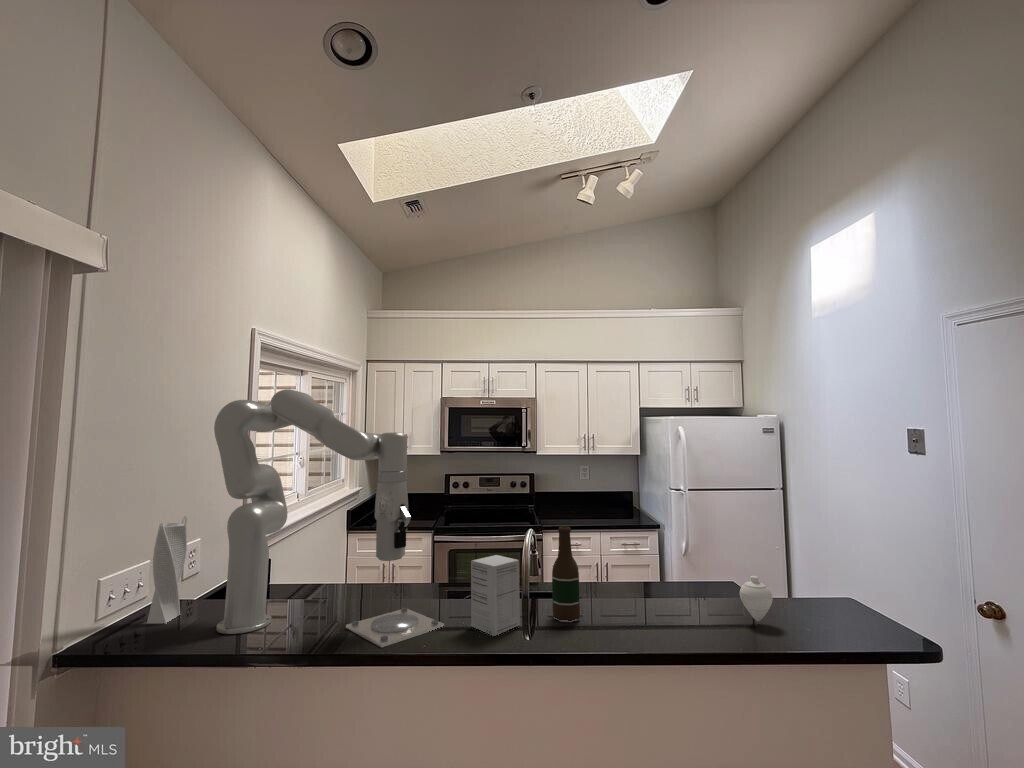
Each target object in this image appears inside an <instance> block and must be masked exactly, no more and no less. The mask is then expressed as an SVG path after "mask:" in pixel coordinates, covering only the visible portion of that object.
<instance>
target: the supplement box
mask: <svg viewBox="0 0 1024 768" xmlns="http://www.w3.org/2000/svg"><path fill="white" fill-rule="evenodd" d="M470 575H471V576H470V579H471V580H470V590H471V591H470V594H471V595H470V596H471V597H470V598H471V599H470V601H471V602H470V603H471V606H470V609H471V611H470V612H471V613H470V614H471V615H470V617H471V620H470V621H471V623H470V624H471V625H470V627H471V626H472V627H474V628H476V629H479V630H481V631H483V632H486V633H488V634H490V635H489V636H491V635H492V636H491V637H493V636H496V635H498V636H500V635H499V634H501V633H502V632H505V631H507V630H509V629H512V628H514V627H516V626H518V625H520V626H521V611H520V609H521V606H520V605H521V603H520V601H521V600H520V599H521V597H520V560H519V559H516V558H511V557H506V556H504V555H498V554H495V555H490V556H485V557H481V558H477V559H473V560H471V561H470ZM476 629H475V630H476ZM481 631H480V632H481ZM483 632H482V633H483ZM486 633H485V634H486ZM488 634H487V635H488ZM501 635H502V634H501ZM496 637H497V636H496Z"/></svg>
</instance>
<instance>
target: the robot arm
mask: <svg viewBox="0 0 1024 768" xmlns="http://www.w3.org/2000/svg"><path fill="white" fill-rule="evenodd" d="M213 425H214V426H213V429H214V430H213V431H214V437H215V441H216V444H217V448H218V451H219V456H220V461H221V462H220V463H221V467H222V473H223V477H224V478H223V479H224V482H225V483H224V484H225V486H226V491H227V493H228V495H229V496H230V497H231V498H233V499H235V500H249V499H251V502H249V503H245V504H242V505H240V506H238V507H237V508H235V509H233V511H232V512H231V513H230V515H229V517H228V519H227V523H226V524H227V525H226V527H227V528H226V529H227V537H228V561H227V562H228V564H227V579H226V592H225V604H224V616H223V617H224V618H223V620H222V621H219V622H218V623H217V624H216V629H215V630H216V632H217V633H220V634H223V635H238V634H245V633H250V632H254V631H259V630H260V629H264V628H265V627H267V626H268V625H270V624H271V622H272V615H270V614H268V613H266V607H267V606H266V605H267V591H268V575H269V558H270V549H269V544H268V541H267V540H268V539H267V535H271V534H273V533H277V532H279V530H281V529H283V527H284V526H285V524H286V522H287V519H288V507H287V502H286V497H285V493H284V492H285V491H284V488H283V483H282V479H281V476H280V474H279V472H278V471H277V469H276V468H275V467H273V466H271V465H269V464H268V463H267V464H266V463H259V460H258V457H257V453H256V452H257V451H256V447H255V445H254V443H253V441H252V439H251V438H250V436H249V434H248V432H260V433H261V432H263V433H265V432H266V433H268V432H273V431H276V430H279V429H283V428H286V427H290V426H294V427H296V428H297V429H299V430H301V431H303V432H306V433H307V434H308V435H311V436H313V437H314V438H315V439H316V440H317V441H318V442H319V443H321V444H323V446H325V447H327V448H328V449H330V450H331V451H334V452H336V453H337V454H340V455H341V456H343V457H345V458H346V459H350V460H352V461H373V460H377V459H378V470H377V471H378V478H377V479H378V480H377V481H378V483H377V487H376V493H375V494H376V495H375V502H374V503H375V504H374V519H375V520H376V521H375V522H377V518H378V517H379V516H380V514H379V513H381V514H386V517H387V519H388V522H389V523H393V522H394V521H395V529H396V532H395V533H394V548H396V549H398V548H403V547H405V548H406V547H407V531H408V528H409V525H410V522H411V518H412V516H411V515H410V513H409V498H408V497H409V496H408V495H409V494H408V488H407V486H408V485H407V482H408V481H407V480H408V478H407V477H408V475H407V474H408V467H407V466H408V437H407V435H406V433H404V432H383V433H381V434H379V433H371V432H365V431H359V430H357V429H355V428H353V427H351V426H350V425H348V424H346V423H344V422H342V421H341V420H339V419H338V418H336V416H335V414H334V412H333V410H331V409H330V408H329V407H326V406H324V405H322V404H320V403H319V402H316V401H315V399H314V397H313V396H311V395H310V394H308V393H306V392H303V391H302V392H301V391H298V390H295V389H290V388H289V389H288V388H286V389H281V390H279V391H277V392H276V393H274V395H273V396H272V397H271V399H270V402H266V403H265V402H260V401H257V400H251V399H237V400H233V401H230V402H228V403H227V404H226V405H224V406H223V407H222V408H221V409H220V411H219V412H218V414H217V416H216V418H215V421H214V424H213ZM398 517H402V519H400V520H397V519H398ZM398 523H401V524H400V526H399V524H398ZM269 623H270V624H269Z"/></svg>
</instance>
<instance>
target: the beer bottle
mask: <svg viewBox="0 0 1024 768" xmlns="http://www.w3.org/2000/svg"><path fill="white" fill-rule="evenodd" d="M557 532H558V552H557V557H556V559H555V561H554V563H553V567H552V570H551V571H552V572H551V574H552V575H551V588H552V589H551V593H552V595H551V596H552V618H553V617H555V618H557V619H559V620H568V621H572V620H575V619H579V620H580V618H579V617H580V615H581V612H580V611H581V607H580V605H581V603H580V601H581V599H580V597H581V596H580V572H579V566H578V563H577V562H576V560H575V558H574V557H573V553H572V552H573V551H572V544H571V543H572V542H571V532H572V529H571V527H570V526H566V525H565V526H559V527H558V529H557Z"/></svg>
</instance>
